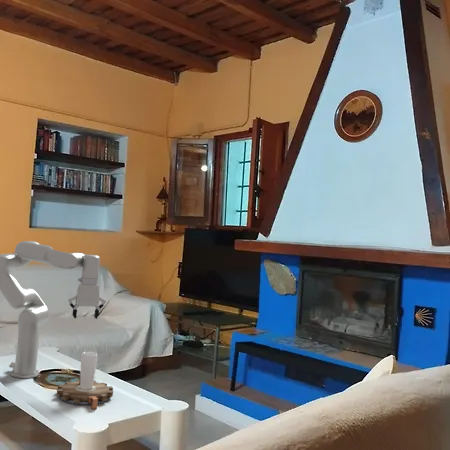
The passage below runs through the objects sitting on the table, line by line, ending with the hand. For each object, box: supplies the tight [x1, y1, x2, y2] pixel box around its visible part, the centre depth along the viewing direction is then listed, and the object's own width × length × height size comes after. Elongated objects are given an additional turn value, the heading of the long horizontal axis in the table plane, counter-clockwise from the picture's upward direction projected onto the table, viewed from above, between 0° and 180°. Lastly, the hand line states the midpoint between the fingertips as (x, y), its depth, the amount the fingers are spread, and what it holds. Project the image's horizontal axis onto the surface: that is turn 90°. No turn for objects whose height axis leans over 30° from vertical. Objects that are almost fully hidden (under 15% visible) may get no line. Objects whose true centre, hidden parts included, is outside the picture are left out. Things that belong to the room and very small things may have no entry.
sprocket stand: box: [57, 395, 112, 410], centre depth 225 cm, size 24×22×4 cm
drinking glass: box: [79, 351, 98, 390], centre depth 226 cm, size 7×7×15 cm
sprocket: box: [56, 371, 114, 403], centre depth 226 cm, size 24×24×7 cm
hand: (85, 318), depth 242 cm, fingers open, 9 cm apart
